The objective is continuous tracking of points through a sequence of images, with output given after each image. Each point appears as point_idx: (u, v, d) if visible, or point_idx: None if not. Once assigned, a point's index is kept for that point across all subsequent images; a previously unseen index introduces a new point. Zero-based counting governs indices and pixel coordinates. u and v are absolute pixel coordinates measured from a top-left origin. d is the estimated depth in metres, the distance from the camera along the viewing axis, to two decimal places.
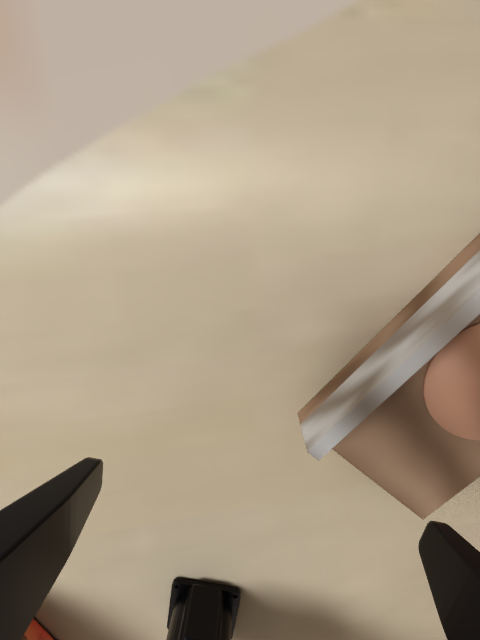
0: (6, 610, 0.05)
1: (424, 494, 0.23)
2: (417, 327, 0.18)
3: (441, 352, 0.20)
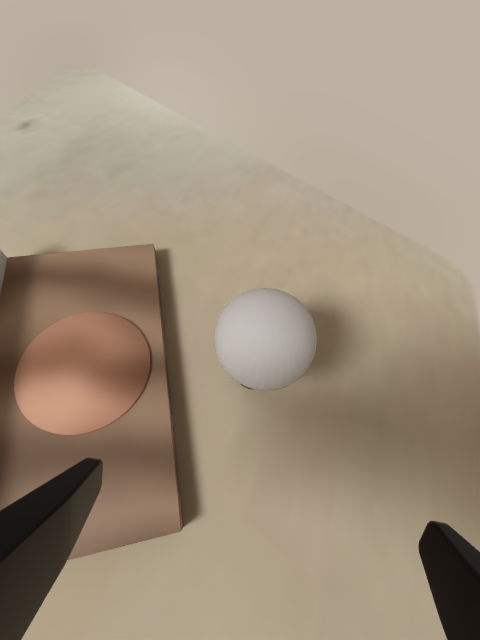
0: (6, 610, 0.05)
1: (149, 504, 0.18)
2: None
3: (16, 388, 0.20)
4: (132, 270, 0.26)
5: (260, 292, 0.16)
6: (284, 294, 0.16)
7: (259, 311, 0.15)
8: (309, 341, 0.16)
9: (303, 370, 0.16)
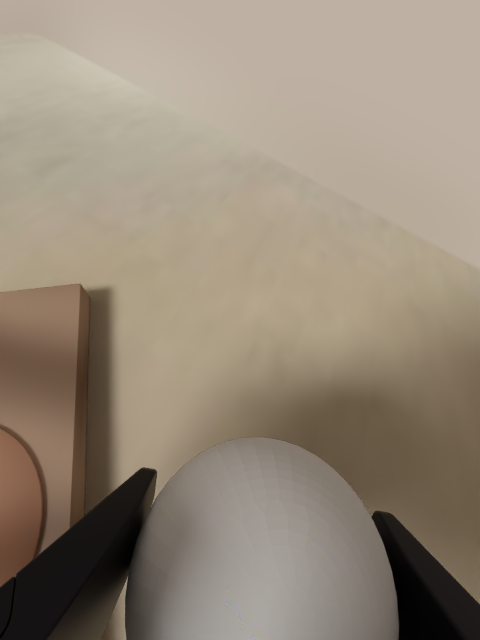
0: (88, 625, 0.05)
1: None
2: None
3: None
4: (36, 331, 0.15)
5: (244, 495, 0.06)
6: (310, 496, 0.06)
7: (237, 605, 0.05)
8: None
9: None
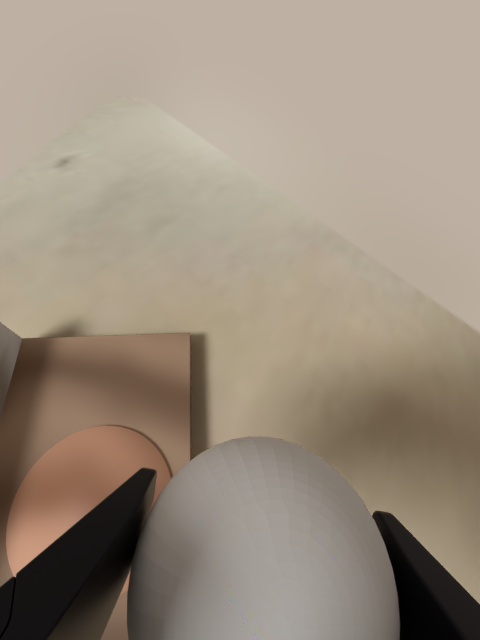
0: (88, 625, 0.05)
1: None
2: None
3: (9, 530, 0.17)
4: (162, 367, 0.22)
5: (246, 494, 0.06)
6: (311, 495, 0.06)
7: (239, 604, 0.05)
8: None
9: None
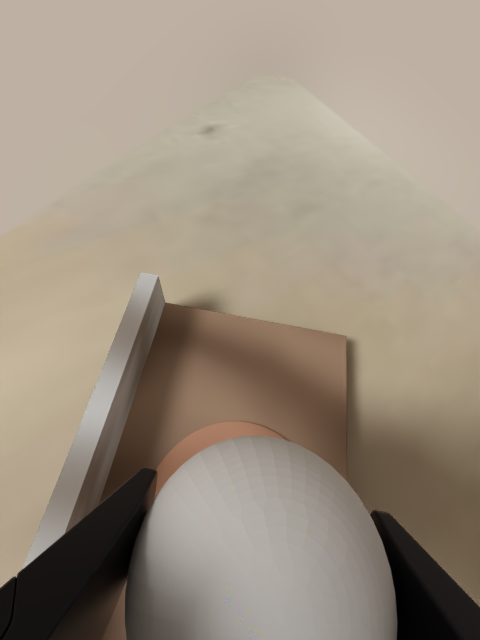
0: (89, 626, 0.05)
1: None
2: None
3: None
4: (314, 369, 0.18)
5: (243, 492, 0.06)
6: (309, 494, 0.06)
7: (235, 602, 0.05)
8: None
9: None
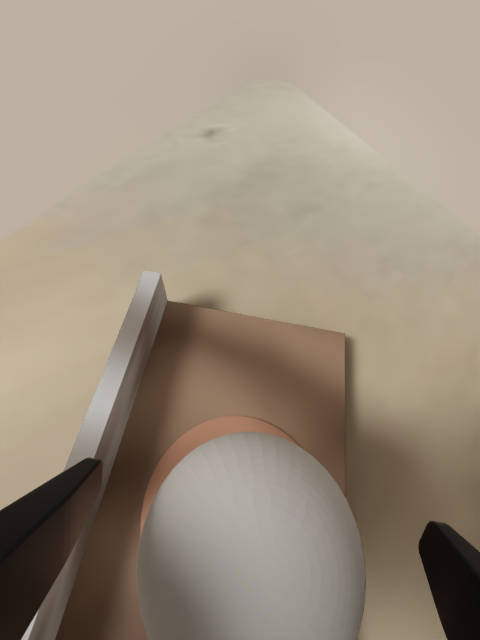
0: (6, 610, 0.05)
1: None
2: None
3: (144, 513, 0.14)
4: (313, 366, 0.19)
5: (235, 479, 0.07)
6: (290, 480, 0.07)
7: (228, 565, 0.06)
8: (356, 618, 0.06)
9: None
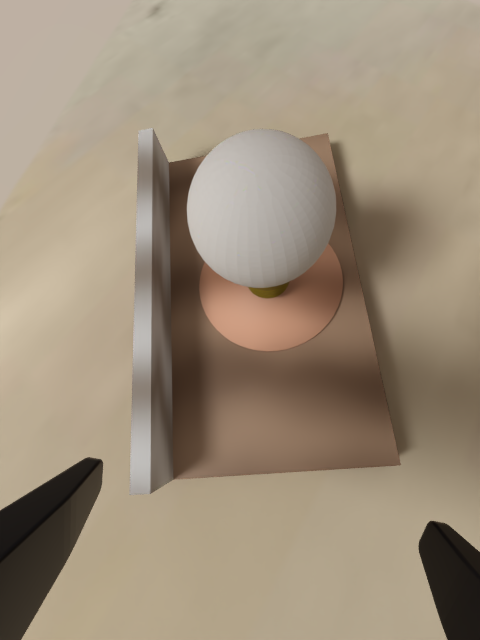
0: (6, 610, 0.05)
1: (359, 432, 0.16)
2: None
3: (203, 299, 0.19)
4: None
5: (227, 139, 0.10)
6: (263, 129, 0.10)
7: (230, 161, 0.10)
8: (321, 184, 0.10)
9: (325, 234, 0.11)
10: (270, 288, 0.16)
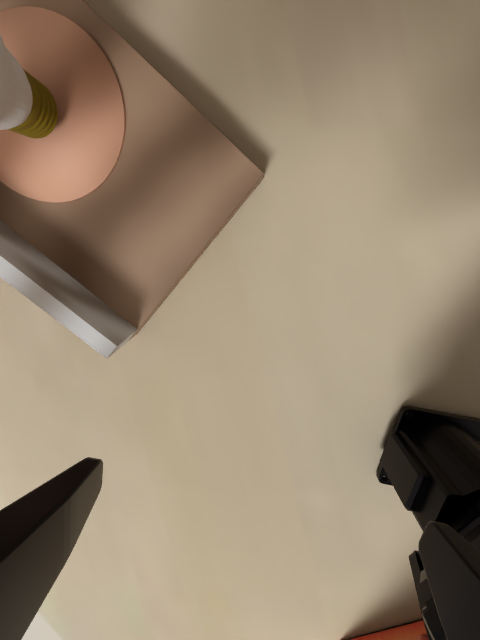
0: (6, 610, 0.05)
1: (220, 177, 0.17)
2: None
3: (14, 187, 0.17)
4: None
5: None
6: None
7: None
8: None
9: None
10: (34, 116, 0.14)
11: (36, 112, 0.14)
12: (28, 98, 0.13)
